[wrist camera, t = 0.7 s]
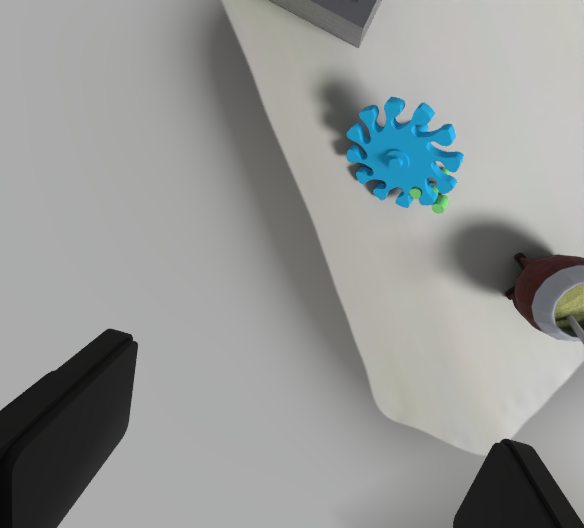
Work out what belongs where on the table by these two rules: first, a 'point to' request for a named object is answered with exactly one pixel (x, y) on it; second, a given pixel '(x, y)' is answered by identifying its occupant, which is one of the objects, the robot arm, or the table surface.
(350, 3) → the tray
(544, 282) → the mate gourd
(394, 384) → the table surface
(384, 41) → the table surface
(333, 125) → the table surface
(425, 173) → the blue toy cog wheel
